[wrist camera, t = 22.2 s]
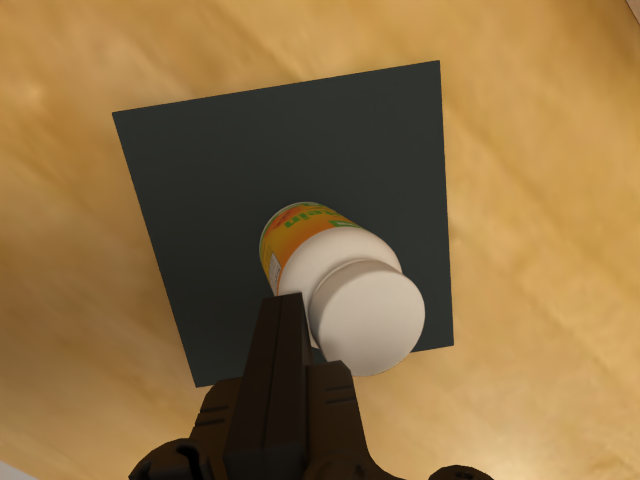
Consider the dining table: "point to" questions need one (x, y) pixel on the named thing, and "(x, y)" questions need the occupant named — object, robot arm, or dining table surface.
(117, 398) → the dining table surface
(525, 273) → the dining table surface
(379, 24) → the dining table surface
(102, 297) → the dining table surface
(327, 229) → the supplement bottle
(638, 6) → the milk
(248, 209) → the mat
